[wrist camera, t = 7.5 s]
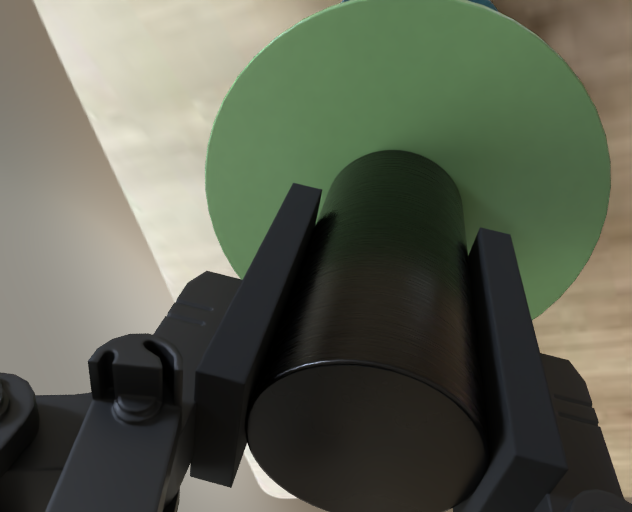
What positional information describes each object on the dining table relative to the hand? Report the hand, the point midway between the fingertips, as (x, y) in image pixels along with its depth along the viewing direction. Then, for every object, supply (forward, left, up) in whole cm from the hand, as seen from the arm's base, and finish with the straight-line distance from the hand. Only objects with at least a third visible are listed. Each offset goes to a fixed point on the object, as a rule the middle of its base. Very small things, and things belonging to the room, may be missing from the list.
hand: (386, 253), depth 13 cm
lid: (0, 0, -3) cm, 3 cm away
